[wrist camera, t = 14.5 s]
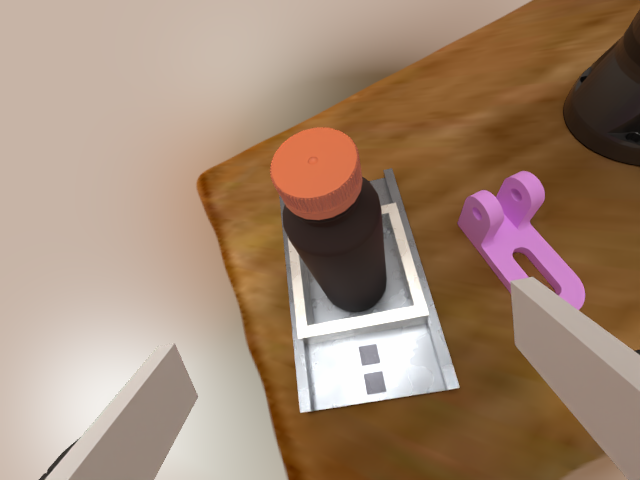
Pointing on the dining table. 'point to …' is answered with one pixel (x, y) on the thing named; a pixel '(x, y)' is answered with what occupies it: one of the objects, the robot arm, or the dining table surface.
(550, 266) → the bracket
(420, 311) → the grey base plate
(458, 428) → the dining table surface
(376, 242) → the vinegar
